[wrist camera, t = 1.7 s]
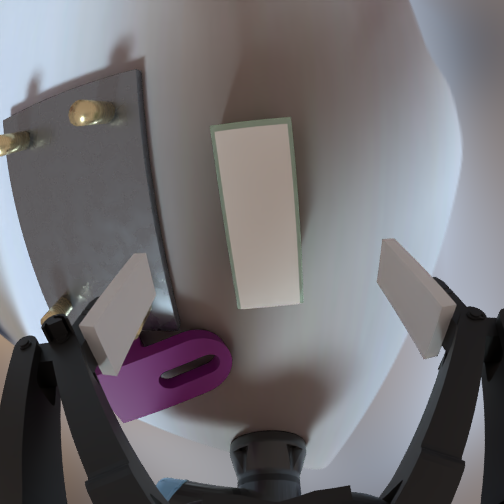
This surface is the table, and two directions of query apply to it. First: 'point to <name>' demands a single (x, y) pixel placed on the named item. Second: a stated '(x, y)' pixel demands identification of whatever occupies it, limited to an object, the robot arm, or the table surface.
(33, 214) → the chassis plate
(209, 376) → the mounting bracket
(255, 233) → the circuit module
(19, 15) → the table surface
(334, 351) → the table surface
